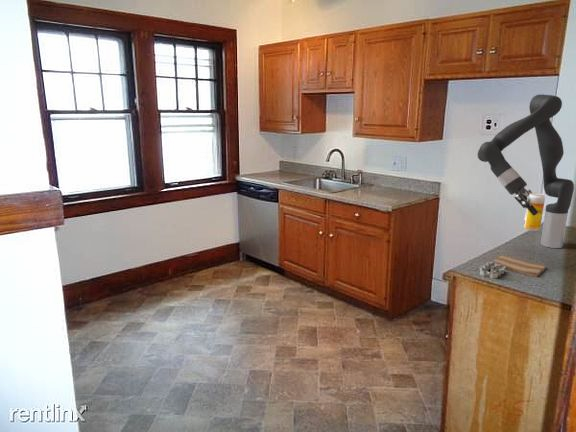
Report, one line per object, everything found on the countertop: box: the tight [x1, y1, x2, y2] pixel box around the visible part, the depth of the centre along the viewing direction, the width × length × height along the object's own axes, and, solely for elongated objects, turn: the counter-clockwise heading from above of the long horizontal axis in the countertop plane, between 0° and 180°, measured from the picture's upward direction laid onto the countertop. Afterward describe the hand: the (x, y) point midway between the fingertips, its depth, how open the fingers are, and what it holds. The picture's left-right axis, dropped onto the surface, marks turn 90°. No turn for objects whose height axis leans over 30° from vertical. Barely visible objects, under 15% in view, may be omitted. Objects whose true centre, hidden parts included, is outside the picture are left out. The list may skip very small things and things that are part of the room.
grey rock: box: [478, 260, 505, 279], centre depth 169 cm, size 11×8×4 cm
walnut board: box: [491, 255, 547, 278], centre depth 175 cm, size 13×18×2 cm
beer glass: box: [523, 192, 546, 232], centre depth 171 cm, size 6×6×15 cm
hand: (538, 212), depth 170 cm, fingers closed on beer glass, 6 cm apart
